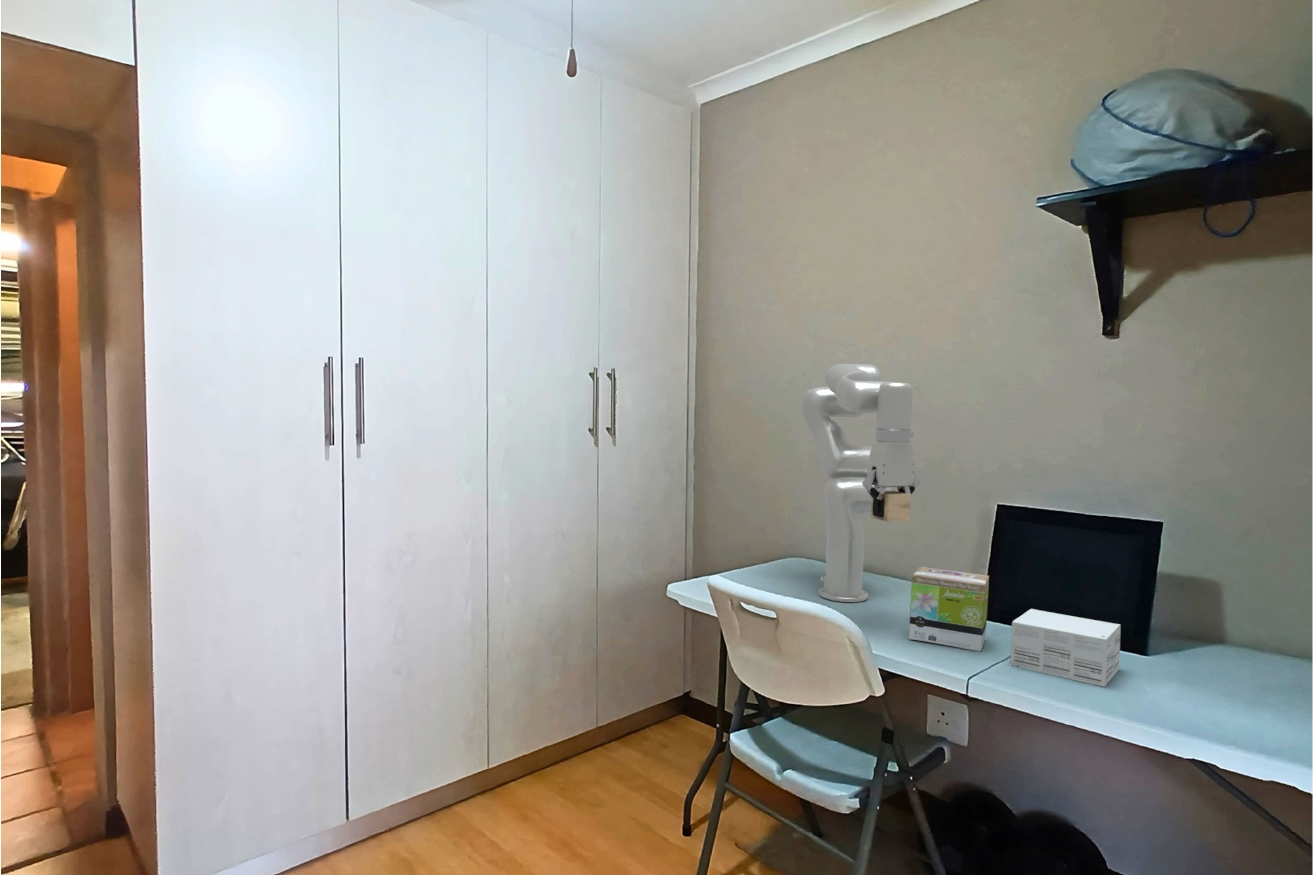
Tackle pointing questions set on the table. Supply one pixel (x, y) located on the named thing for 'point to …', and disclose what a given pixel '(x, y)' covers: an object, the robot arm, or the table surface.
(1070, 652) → the supplement box
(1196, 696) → the table surface
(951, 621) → the tea box
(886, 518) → the oak block
